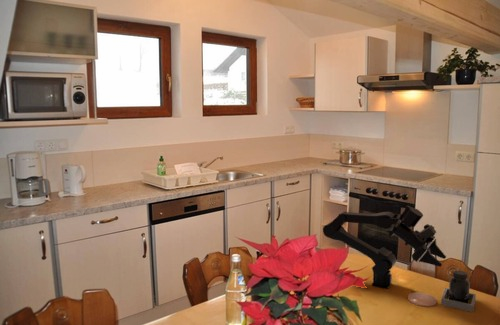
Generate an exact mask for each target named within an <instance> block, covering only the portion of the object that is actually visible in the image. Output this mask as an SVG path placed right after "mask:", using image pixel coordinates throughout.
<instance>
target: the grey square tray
mask: <svg viewBox="0 0 500 325" xmlns="http://www.w3.org/2000/svg"><path fill="white" fill-rule="evenodd" d="M442 293H443V294H442V295H441V299H440V300H441V301H440V305H441V306H444V307H448V308H453V309H458V310H461V311H466V312H470V313H474V309H475V304H476V295H477V294H475V293H472V292H471V293H470V292H469V301H471V303H468V304H467V303H463V302H458V301H454V300H449V298H447V296H448V297H449V287H446V288H444V291H443V292H442Z"/></svg>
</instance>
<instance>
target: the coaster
mask: <svg viewBox="0 0 500 325" xmlns="http://www.w3.org/2000/svg"><path fill="white" fill-rule="evenodd" d="M407 295H408V297H407V299H408V301H409V302H410V303H411V304H413V305H416V306H420V307H425V308H426V307H427V308H429V307H430V308H431V307H434V306H436V304H437V299H436V297H434V296H433V295H431V294H428V293H425V292H411V293H409V294H407Z"/></svg>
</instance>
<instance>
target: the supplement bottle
mask: <svg viewBox="0 0 500 325" xmlns="http://www.w3.org/2000/svg"><path fill="white" fill-rule="evenodd" d="M470 285H471V282H470V281H469V280H468V272H466V271H464V270H460V269H457V270H456V269H455V270H453V272H452V277H451V278H450V279H449V285H448V286H449V287H448V289H449V296H448V299H449V300H454V301H458V302H463V303H467V304H470V303H469V302H470V300H469V293H470V289H471V288H470V287H471V286H470Z"/></svg>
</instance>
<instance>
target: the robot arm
mask: <svg viewBox="0 0 500 325" xmlns="http://www.w3.org/2000/svg"><path fill="white" fill-rule="evenodd" d="M423 217H424V214H423V213H422V212H421V211H420V210H419V209H417V208H415V207H412V206H410V205H407V206H405V208H404V210H403V212H402V213H394V212H391V211H382V212H378V213H377V212H376V213H367V212H366V213H364V212H363V213H362V212H349V211H342V212H340V213H339V214H338V215H337V216H336V217H335V219H334V220H332V221H330V222H329V223H327V224H325V225H324V226H323V227H322V232H323V235H324V236H325V237H327V238H328V239H331V240H333V241H340V242H342V243H344V244H346V245H347V246H348V247H350V248H352V249H354V250H355V251H357V252H359V253H360V254H362V255H365V256H366V257H367V258H369V259H371V262H373V263H374V264H373V266H372V268H371V269H372V273H373V274H372V283H371V286H372V287H376V288H377V287H378V288H382V289H387V290H388V289H389V287H390V286H391V285H392V281H393V280H392V278H393V275H392V273H391V269H392V268H393V266H394V265H396V263H397V258H396V255H395V254H394V253H393V251H392V250H391V251H390V250H389V249H387V248H386V247H381V248H380V249H379V248H376V247H374V246H372V245H370V244H369V243H367V242H366V241H363V240H361V239H360V238H359V237H356V236H355V235H353V234H351V233H349V232H347V230H346V229H345V228H344V226H343V225H344V224H345V223H352V224H365V225H372V226H375V227H376V228H381V229H385V230H387V232H388V236H389V238H392V236H394V235H395V236H396V237H397V238H399V240H402V241H403V242H404V245H405V246H410V247H411V248H412V249H413V253H412V255H411V258H412V260H413V261H415V262H416V263H417V262H419V263H424V264H425V263H426V264H429V265H432V266H437V267H439V268H440V267H442V265H443V264H442V262H440V261H439V260H438V259H437V258H436V257H439V258H441V259H444V260H445V259H446V258H447V255H446V254H445V253H444V252H443V251H442V249H441V248H440V247H439V246H438V245H437V238H436V233H437V230H435V227H434V226H433V225H432V224H431V225H430V224H428V223H427V224H425V225H424V226H423V229H422V230H421V231H419V230H418V229H417V230H414V229H412V228H414V227H416V226H417V224H418V223H419V222H420V220H421V219H422V218H423ZM398 223H399V224H398ZM392 226H393V227H392ZM411 227H412V228H411ZM390 228H391V229H390Z"/></svg>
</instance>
